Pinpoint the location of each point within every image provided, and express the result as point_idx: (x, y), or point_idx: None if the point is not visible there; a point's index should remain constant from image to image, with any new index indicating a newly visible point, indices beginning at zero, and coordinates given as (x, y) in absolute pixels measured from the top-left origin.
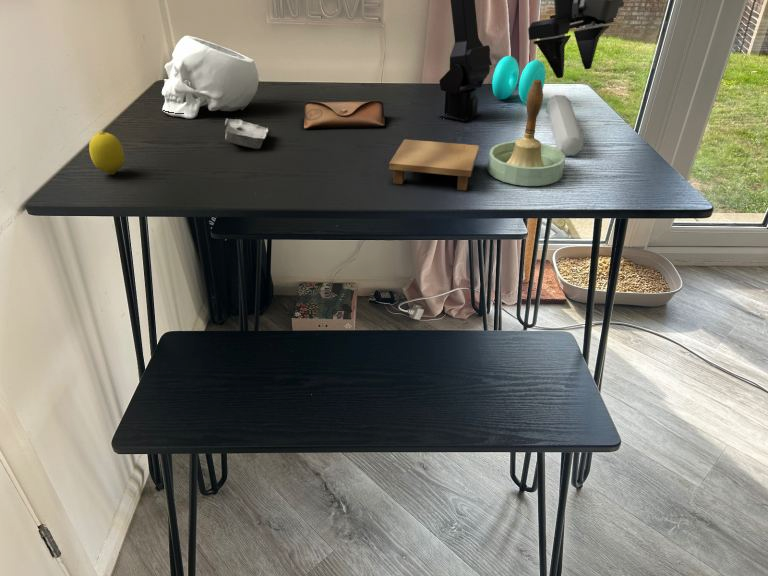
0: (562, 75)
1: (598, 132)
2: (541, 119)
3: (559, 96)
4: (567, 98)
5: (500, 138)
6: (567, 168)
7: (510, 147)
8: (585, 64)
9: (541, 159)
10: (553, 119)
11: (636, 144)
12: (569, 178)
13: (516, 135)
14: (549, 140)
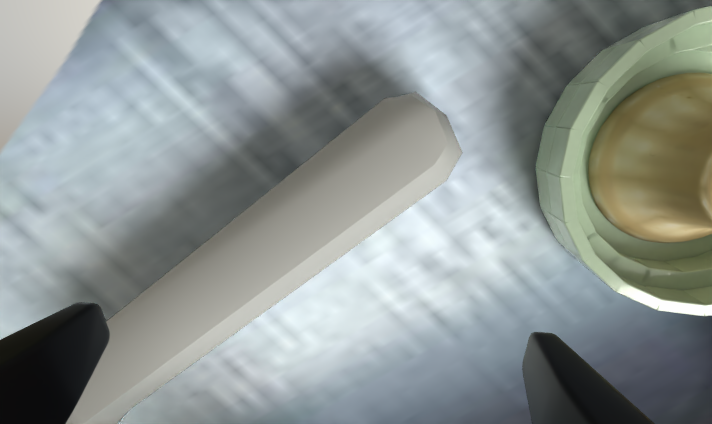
0: (554, 340)
1: (124, 184)
2: (170, 388)
3: None
4: None
5: (429, 389)
6: (528, 70)
7: (628, 280)
8: (82, 362)
9: (698, 111)
10: (256, 316)
11: (120, 14)
12: (616, 8)
13: (365, 368)
14: None
